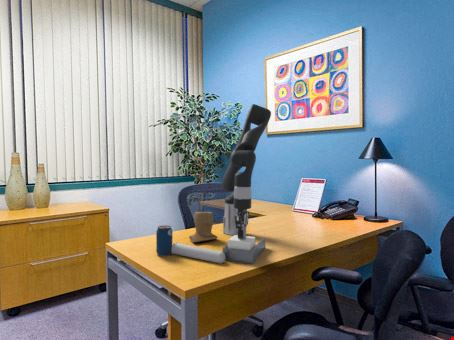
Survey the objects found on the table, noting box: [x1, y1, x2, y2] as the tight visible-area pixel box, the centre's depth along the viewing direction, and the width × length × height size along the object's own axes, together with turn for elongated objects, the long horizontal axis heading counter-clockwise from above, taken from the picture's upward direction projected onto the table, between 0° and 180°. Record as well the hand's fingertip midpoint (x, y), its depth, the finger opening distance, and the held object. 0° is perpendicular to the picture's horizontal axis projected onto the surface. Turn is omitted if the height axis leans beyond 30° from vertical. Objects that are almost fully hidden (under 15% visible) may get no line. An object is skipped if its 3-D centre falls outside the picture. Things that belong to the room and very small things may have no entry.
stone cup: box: [188, 211, 219, 244], centre depth 158 cm, size 15×12×15 cm
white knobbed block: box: [227, 226, 256, 251], centre depth 132 cm, size 10×9×12 cm
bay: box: [221, 237, 266, 265], centre depth 137 cm, size 13×24×5 cm, turn 161°
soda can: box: [155, 225, 173, 257], centre depth 135 cm, size 7×7×12 cm
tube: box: [171, 242, 226, 264], centre depth 130 cm, size 5×5×25 cm
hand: (241, 236), depth 131 cm, fingers closed on white knobbed block, 3 cm apart
